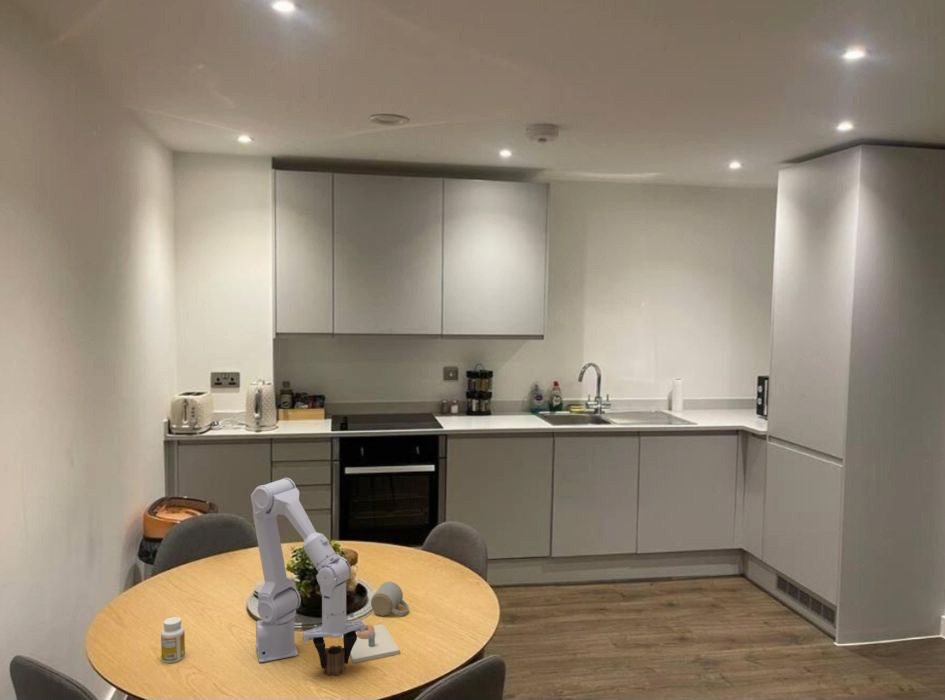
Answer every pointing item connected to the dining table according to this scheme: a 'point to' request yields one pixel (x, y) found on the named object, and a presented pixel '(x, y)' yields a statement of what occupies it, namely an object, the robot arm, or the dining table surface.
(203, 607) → the dining table surface
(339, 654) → the walnut pinion gear
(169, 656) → the supplement bottle
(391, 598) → the ceramic mug
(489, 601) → the dining table surface
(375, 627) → the gear board
